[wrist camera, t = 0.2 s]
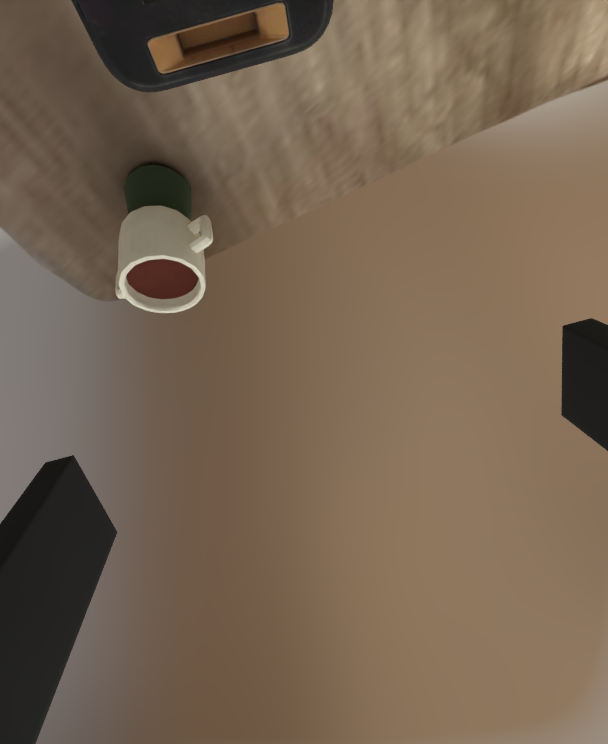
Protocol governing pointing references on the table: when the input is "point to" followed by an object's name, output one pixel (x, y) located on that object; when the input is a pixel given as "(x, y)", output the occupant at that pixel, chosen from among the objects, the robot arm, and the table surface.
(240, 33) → the electronic device
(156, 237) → the character mug
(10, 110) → the table surface
